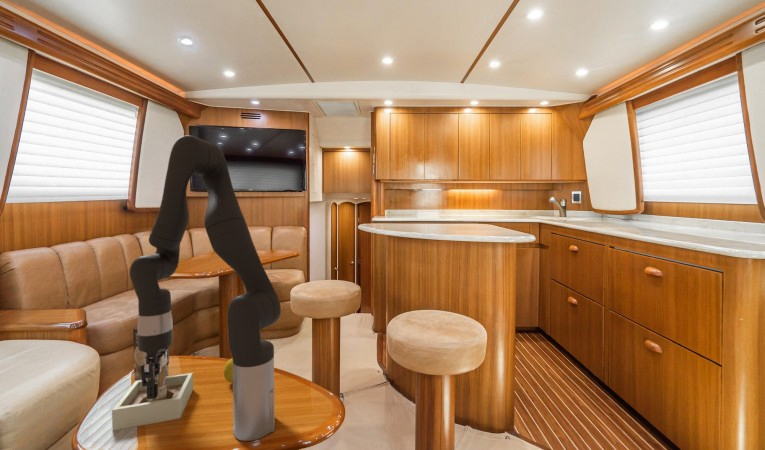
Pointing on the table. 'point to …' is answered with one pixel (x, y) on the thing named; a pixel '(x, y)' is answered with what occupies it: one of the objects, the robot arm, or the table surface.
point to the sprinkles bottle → (161, 383)
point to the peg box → (152, 403)
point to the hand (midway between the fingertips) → (156, 391)
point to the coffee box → (139, 356)
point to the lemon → (229, 370)
